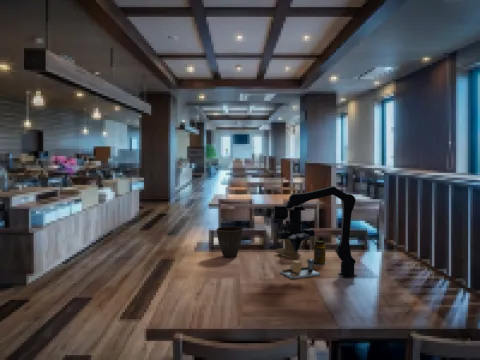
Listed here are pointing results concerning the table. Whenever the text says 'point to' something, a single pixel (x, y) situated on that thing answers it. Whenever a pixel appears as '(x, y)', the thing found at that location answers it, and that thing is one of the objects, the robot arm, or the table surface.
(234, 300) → the table surface
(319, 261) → the condiment
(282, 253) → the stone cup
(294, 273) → the plate
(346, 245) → the robot arm
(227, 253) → the plant pot
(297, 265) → the leg
